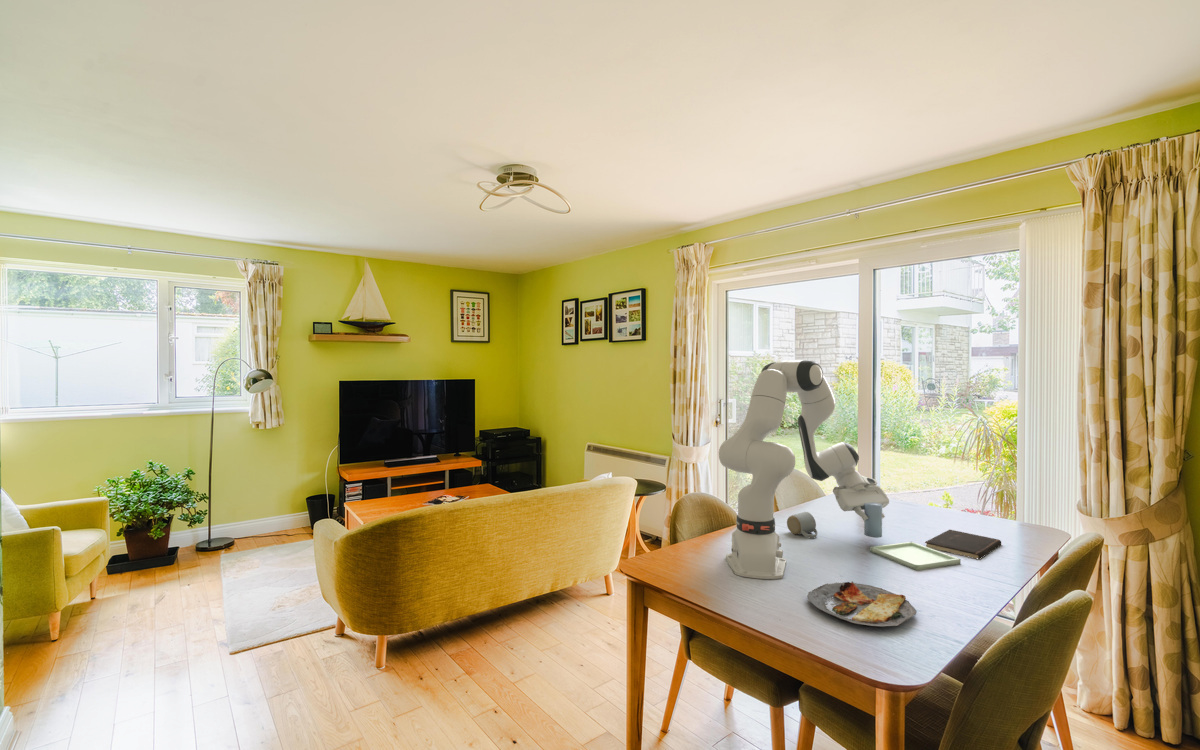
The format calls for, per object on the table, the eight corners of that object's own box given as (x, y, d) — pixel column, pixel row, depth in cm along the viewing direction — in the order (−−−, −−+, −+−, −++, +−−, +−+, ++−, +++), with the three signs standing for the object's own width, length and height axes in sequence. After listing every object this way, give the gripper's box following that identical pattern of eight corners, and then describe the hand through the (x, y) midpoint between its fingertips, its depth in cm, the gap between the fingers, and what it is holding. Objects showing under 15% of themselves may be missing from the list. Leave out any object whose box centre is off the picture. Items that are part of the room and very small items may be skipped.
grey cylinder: (884, 538, 183) (884, 506, 183) (866, 536, 184) (866, 505, 184) (879, 533, 189) (879, 502, 189) (862, 532, 190) (862, 501, 190)
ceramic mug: (785, 532, 201) (785, 512, 201) (801, 529, 205) (801, 509, 205) (806, 540, 192) (807, 519, 191) (823, 537, 195) (823, 516, 195)
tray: (870, 551, 179) (870, 546, 179) (911, 545, 185) (911, 541, 184) (916, 570, 162) (916, 565, 162) (960, 563, 167) (960, 559, 167)
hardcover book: (924, 548, 184) (924, 541, 184) (949, 535, 198) (949, 529, 198) (979, 561, 171) (979, 554, 171) (1001, 546, 185) (1001, 540, 185)
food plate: (842, 582, 153) (842, 570, 153) (930, 612, 134) (930, 598, 134) (792, 607, 138) (792, 594, 138) (883, 645, 119) (883, 630, 119)
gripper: (835, 482, 190) (856, 516, 180) (878, 479, 196) (901, 511, 187) (826, 492, 194) (846, 525, 185) (869, 488, 201) (890, 521, 191)
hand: (874, 518), depth 186 cm, fingers closed on grey cylinder, 6 cm apart
